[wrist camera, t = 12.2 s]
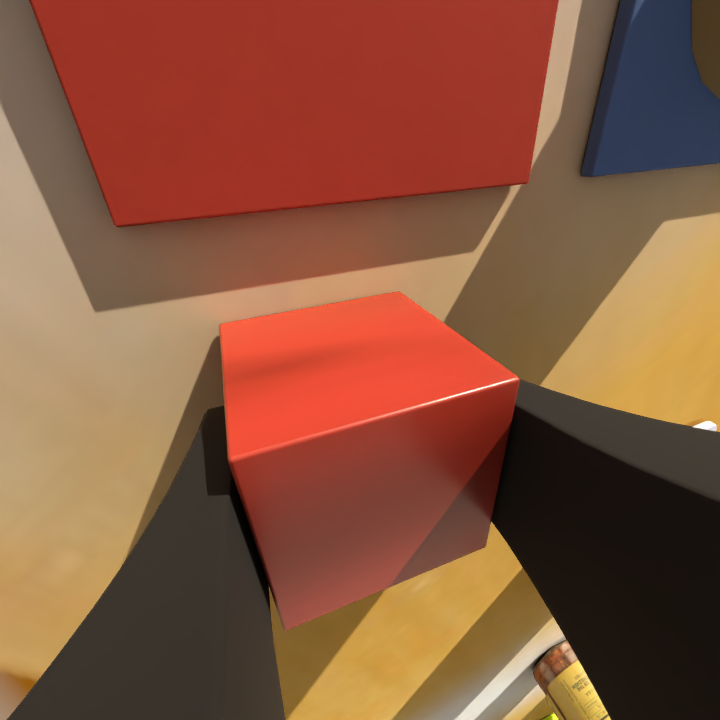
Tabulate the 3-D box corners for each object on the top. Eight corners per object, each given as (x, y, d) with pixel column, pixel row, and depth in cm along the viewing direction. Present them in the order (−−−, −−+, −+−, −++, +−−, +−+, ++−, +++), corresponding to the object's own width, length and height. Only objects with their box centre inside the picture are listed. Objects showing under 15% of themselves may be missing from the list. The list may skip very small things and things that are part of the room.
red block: (399, 424, 12) (487, 548, 8) (257, 465, 11) (284, 633, 7) (399, 290, 9) (523, 377, 6) (218, 322, 8) (226, 460, 5)
